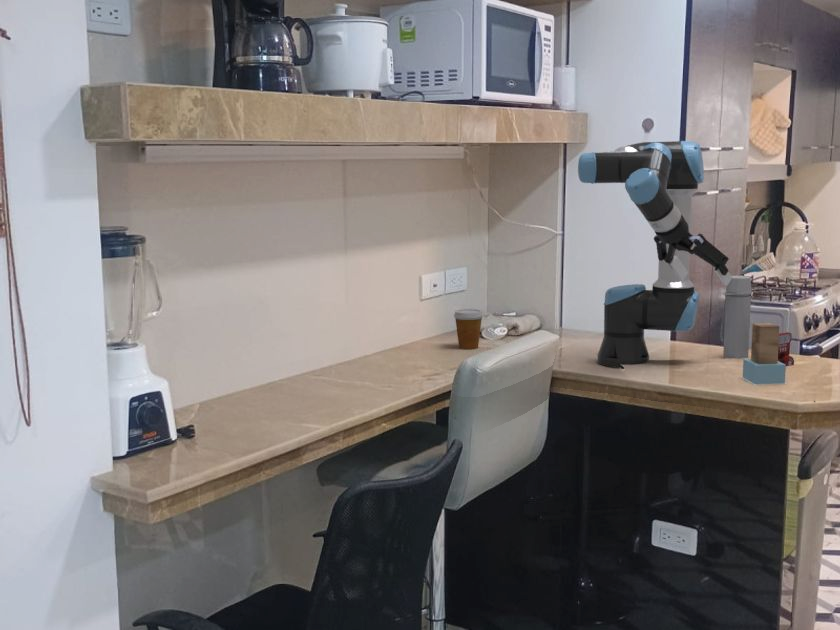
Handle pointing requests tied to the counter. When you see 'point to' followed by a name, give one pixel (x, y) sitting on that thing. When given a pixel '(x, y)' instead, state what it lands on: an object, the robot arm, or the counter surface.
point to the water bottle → (736, 317)
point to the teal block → (764, 372)
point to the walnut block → (765, 343)
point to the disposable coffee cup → (468, 327)
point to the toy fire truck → (785, 349)
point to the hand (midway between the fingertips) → (706, 279)
